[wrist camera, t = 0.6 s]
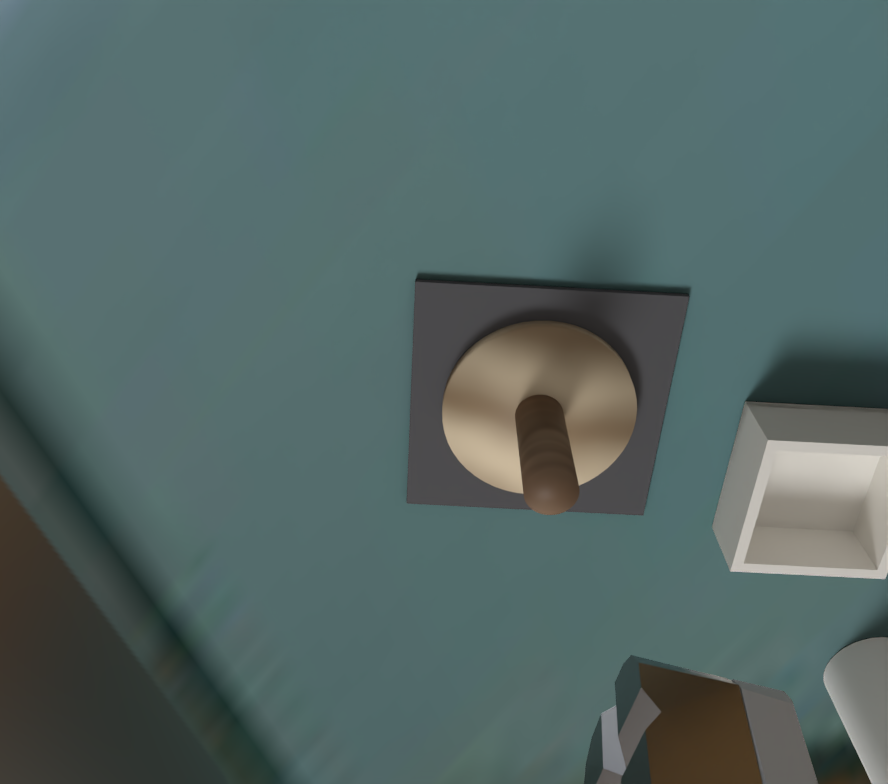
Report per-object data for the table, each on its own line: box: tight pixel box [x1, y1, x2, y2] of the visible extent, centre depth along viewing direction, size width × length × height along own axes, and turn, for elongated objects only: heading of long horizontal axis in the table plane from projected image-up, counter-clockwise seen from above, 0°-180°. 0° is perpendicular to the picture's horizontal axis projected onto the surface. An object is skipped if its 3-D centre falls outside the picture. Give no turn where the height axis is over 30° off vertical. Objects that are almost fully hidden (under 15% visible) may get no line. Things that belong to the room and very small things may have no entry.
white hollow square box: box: [712, 401, 888, 579], centre depth 54 cm, size 10×10×4 cm
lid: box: [442, 321, 637, 515], centre depth 49 cm, size 12×12×9 cm
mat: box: [407, 279, 689, 515], centre depth 54 cm, size 16×16×1 cm
